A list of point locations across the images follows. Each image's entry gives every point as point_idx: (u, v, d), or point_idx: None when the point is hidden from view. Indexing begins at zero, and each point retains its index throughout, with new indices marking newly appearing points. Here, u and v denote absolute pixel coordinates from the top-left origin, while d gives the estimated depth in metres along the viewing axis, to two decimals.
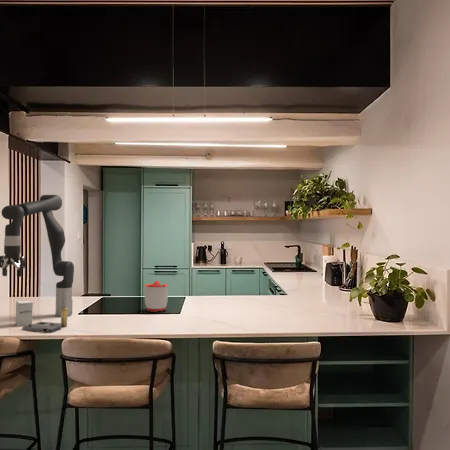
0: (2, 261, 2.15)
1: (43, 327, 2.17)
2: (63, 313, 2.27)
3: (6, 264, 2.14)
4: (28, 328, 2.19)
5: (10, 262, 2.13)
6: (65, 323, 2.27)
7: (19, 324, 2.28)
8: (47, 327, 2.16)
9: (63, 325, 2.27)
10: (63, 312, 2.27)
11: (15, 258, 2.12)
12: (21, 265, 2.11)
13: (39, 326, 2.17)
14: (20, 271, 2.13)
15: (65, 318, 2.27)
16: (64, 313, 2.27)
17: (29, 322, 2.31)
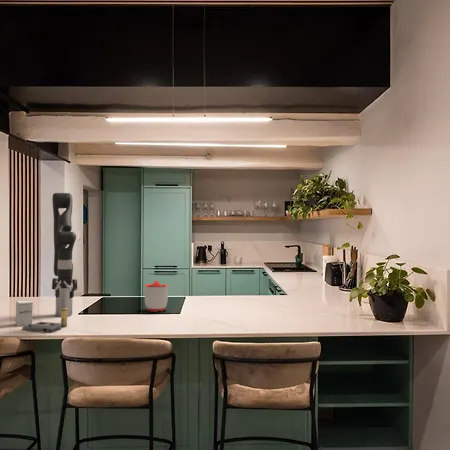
0: (55, 283, 2.30)
1: (43, 327, 2.17)
2: (63, 313, 2.27)
3: (59, 286, 2.28)
4: (28, 328, 2.19)
5: (63, 284, 2.27)
6: (65, 323, 2.27)
7: (19, 324, 2.28)
8: (47, 327, 2.16)
9: (63, 325, 2.27)
10: (63, 312, 2.27)
11: (68, 281, 2.27)
12: (74, 287, 2.26)
13: (39, 326, 2.17)
14: (72, 293, 2.27)
15: (65, 318, 2.27)
16: (64, 313, 2.27)
17: (29, 322, 2.31)
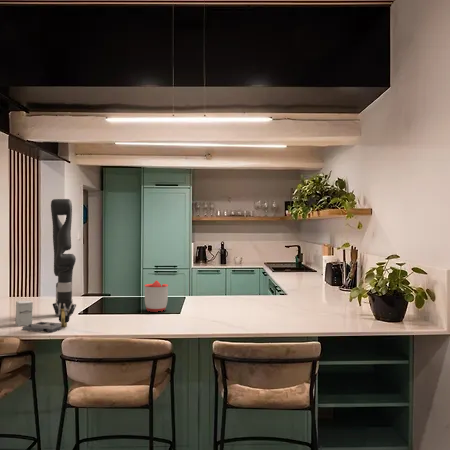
0: (56, 307, 2.29)
1: (43, 327, 2.17)
2: (63, 313, 2.27)
3: None
4: (28, 328, 2.19)
5: (63, 307, 2.27)
6: (65, 323, 2.27)
7: (19, 324, 2.28)
8: (47, 327, 2.16)
9: (63, 325, 2.27)
10: (63, 312, 2.27)
11: (67, 305, 2.27)
12: (70, 312, 2.26)
13: (39, 326, 2.17)
14: (68, 317, 2.27)
15: None
16: (64, 313, 2.27)
17: (29, 322, 2.31)
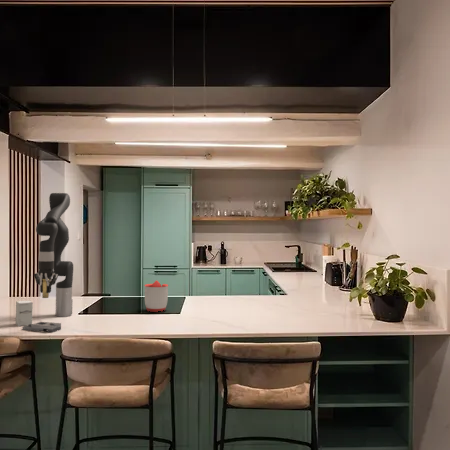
0: (38, 278, 2.23)
1: (43, 327, 2.17)
2: (45, 283, 2.20)
3: None
4: (28, 328, 2.19)
5: (44, 277, 2.21)
6: (47, 294, 2.21)
7: (19, 324, 2.28)
8: (47, 327, 2.16)
9: (44, 296, 2.20)
10: (45, 282, 2.20)
11: (49, 275, 2.20)
12: (52, 282, 2.20)
13: (39, 326, 2.17)
14: (50, 287, 2.21)
15: None
16: (46, 283, 2.21)
17: (29, 322, 2.31)
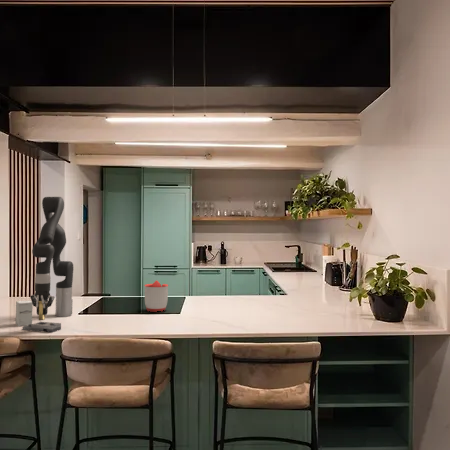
0: (34, 300, 2.22)
1: (43, 327, 2.17)
2: (41, 305, 2.20)
3: None
4: (28, 328, 2.19)
5: (40, 299, 2.20)
6: (43, 316, 2.20)
7: (19, 324, 2.28)
8: (47, 327, 2.16)
9: (41, 318, 2.20)
10: (41, 304, 2.20)
11: (45, 297, 2.19)
12: (48, 304, 2.19)
13: (39, 326, 2.17)
14: (46, 309, 2.20)
15: None
16: (42, 305, 2.20)
17: (29, 322, 2.31)
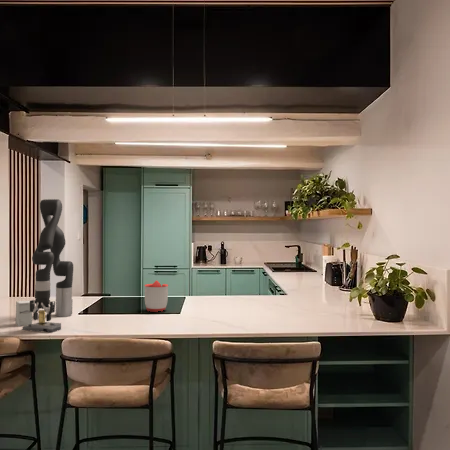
0: (33, 305, 2.23)
1: (43, 327, 2.17)
2: (41, 315, 2.20)
3: (37, 308, 2.21)
4: (28, 328, 2.19)
5: (40, 306, 2.20)
6: None
7: (19, 324, 2.28)
8: (47, 327, 2.16)
9: None
10: (41, 314, 2.20)
11: (45, 303, 2.20)
12: (51, 310, 2.19)
13: (39, 326, 2.17)
14: (49, 315, 2.20)
15: (43, 321, 2.20)
16: (42, 315, 2.20)
17: (29, 322, 2.31)
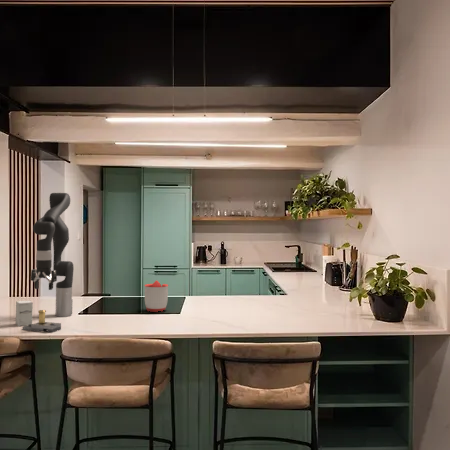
0: (34, 274, 2.25)
1: (43, 327, 2.17)
2: (41, 315, 2.20)
3: (38, 277, 2.23)
4: (28, 328, 2.19)
5: (42, 276, 2.22)
6: None
7: (19, 324, 2.28)
8: (47, 327, 2.16)
9: None
10: (41, 314, 2.20)
11: (47, 272, 2.22)
12: (53, 279, 2.21)
13: (39, 326, 2.17)
14: (52, 284, 2.22)
15: (43, 321, 2.20)
16: (42, 315, 2.20)
17: (29, 322, 2.31)
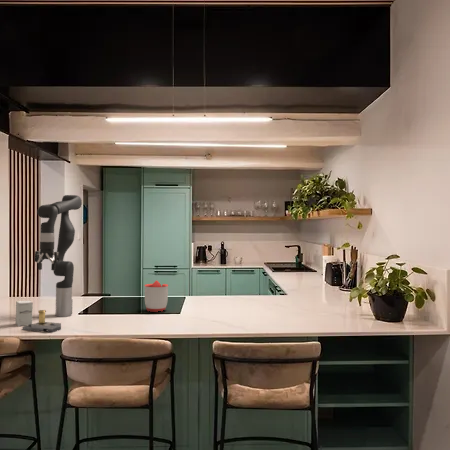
0: (37, 256, 2.36)
1: (43, 327, 2.17)
2: (41, 315, 2.20)
3: (41, 259, 2.35)
4: (28, 328, 2.19)
5: (45, 257, 2.34)
6: None
7: (19, 324, 2.28)
8: (47, 327, 2.16)
9: None
10: (41, 314, 2.20)
11: (50, 253, 2.33)
12: (55, 259, 2.32)
13: (39, 326, 2.17)
14: (54, 265, 2.33)
15: (43, 321, 2.20)
16: (42, 315, 2.20)
17: (29, 322, 2.31)
